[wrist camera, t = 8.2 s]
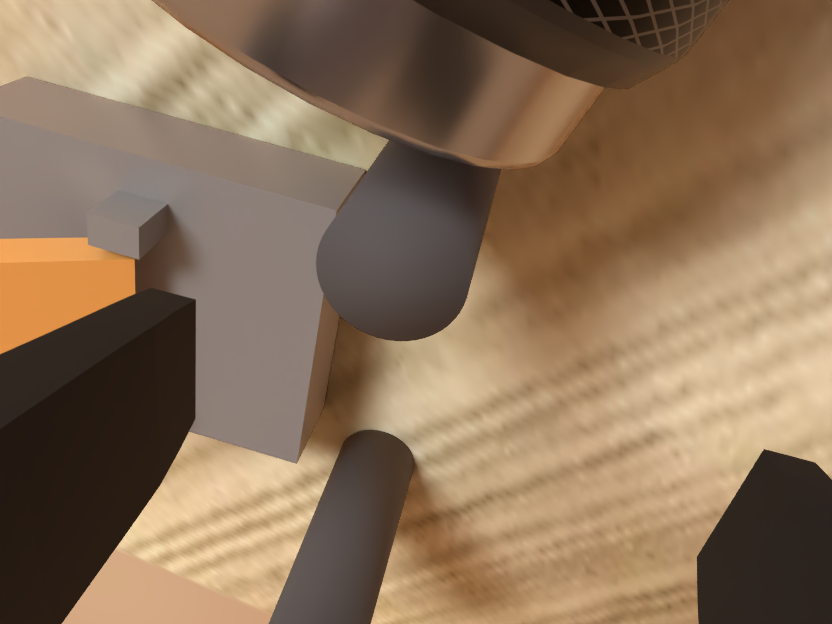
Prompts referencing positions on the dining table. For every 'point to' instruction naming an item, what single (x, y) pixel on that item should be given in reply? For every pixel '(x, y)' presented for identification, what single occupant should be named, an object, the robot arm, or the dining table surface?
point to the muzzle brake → (454, 62)
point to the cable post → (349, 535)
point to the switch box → (192, 242)
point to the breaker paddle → (56, 285)
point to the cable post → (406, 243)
